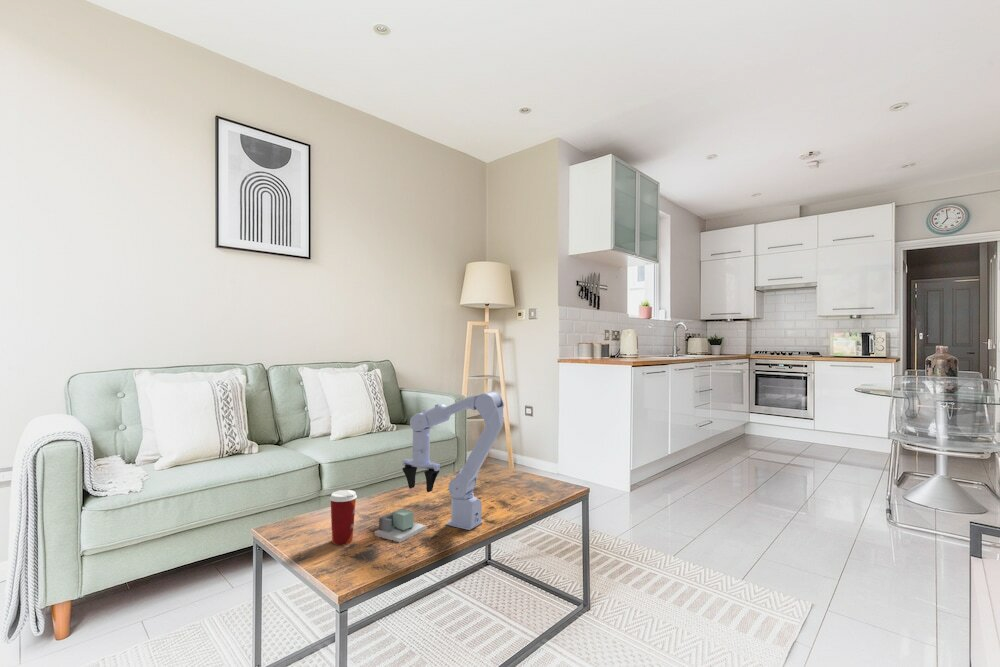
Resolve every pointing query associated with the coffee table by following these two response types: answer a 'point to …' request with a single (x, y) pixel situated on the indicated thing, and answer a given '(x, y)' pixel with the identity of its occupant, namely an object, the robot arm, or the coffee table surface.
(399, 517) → the pale green block
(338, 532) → the paper cup
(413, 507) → the coffee table surface
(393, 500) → the coffee table surface
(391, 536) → the dock
